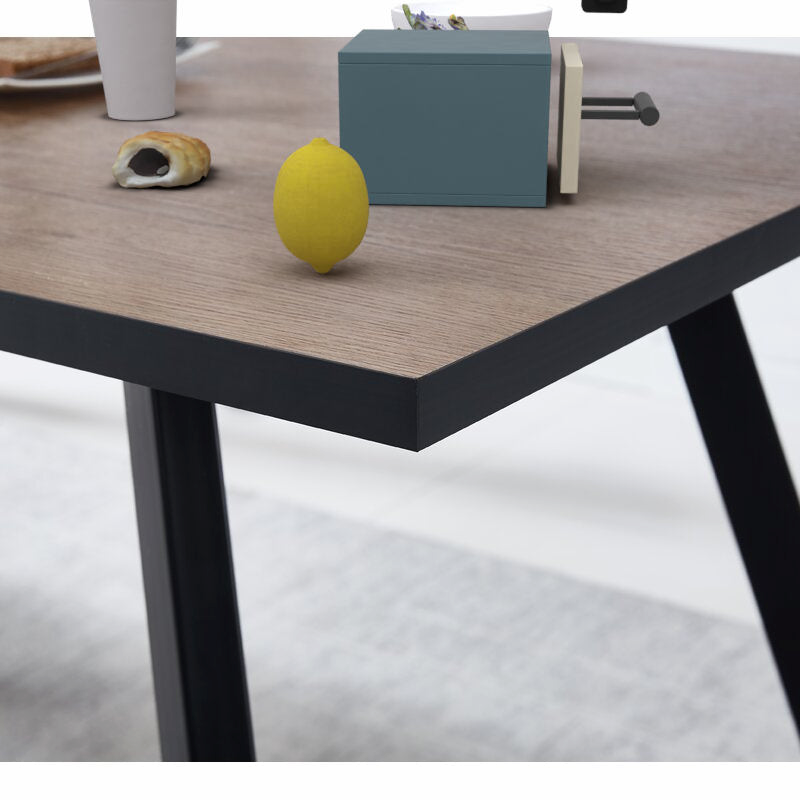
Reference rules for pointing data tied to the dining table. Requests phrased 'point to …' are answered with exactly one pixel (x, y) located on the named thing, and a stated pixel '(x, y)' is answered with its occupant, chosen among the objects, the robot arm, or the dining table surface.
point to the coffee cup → (137, 56)
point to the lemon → (321, 204)
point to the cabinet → (448, 115)
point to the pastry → (161, 160)
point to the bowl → (479, 14)
